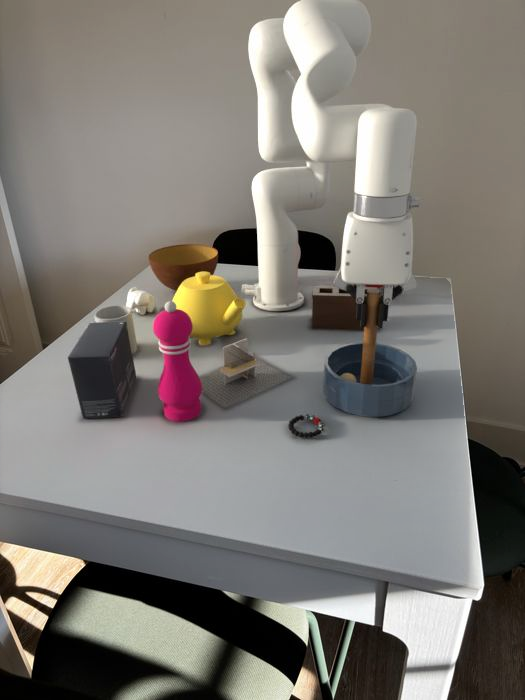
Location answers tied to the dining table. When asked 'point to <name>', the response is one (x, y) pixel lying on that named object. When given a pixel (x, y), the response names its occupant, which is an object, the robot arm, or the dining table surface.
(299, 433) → the bracelet
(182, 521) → the dining table surface
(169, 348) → the pepper mill
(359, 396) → the mixing bowl
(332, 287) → the rack
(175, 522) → the dining table surface
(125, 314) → the cup
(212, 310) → the teapot
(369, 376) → the stick
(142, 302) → the elephant figurine
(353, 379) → the dough ball
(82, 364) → the small box
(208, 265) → the bowl
